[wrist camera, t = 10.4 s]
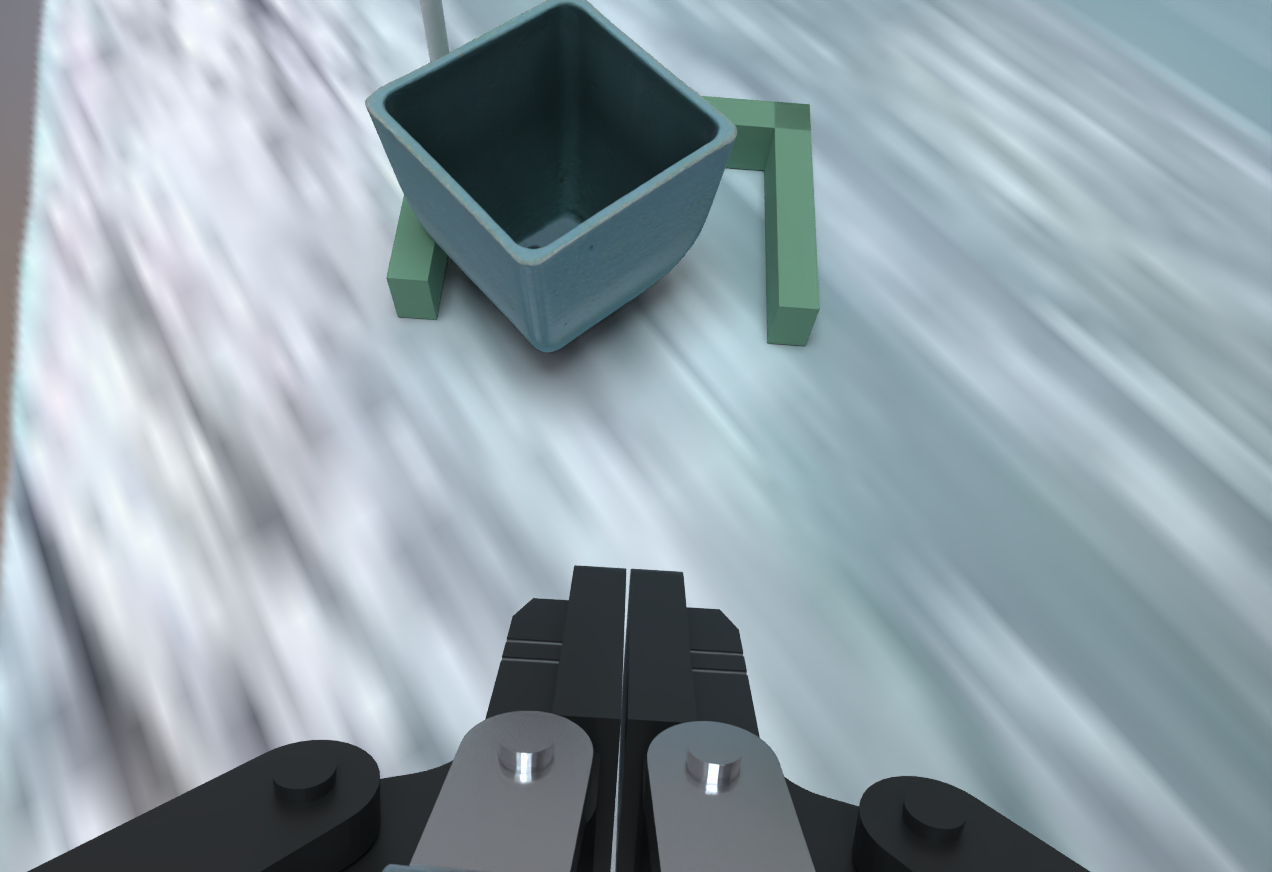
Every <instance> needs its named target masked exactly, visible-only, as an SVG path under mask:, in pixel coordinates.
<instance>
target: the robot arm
mask: <svg viewBox="0 0 1272 872" xmlns="http://www.w3.org/2000/svg"><path fill="white" fill-rule="evenodd" d="M625 593H626V569H624V568H608V567H592V566H574V571H573V577H572V584H571V590H570V597H569V600H554V599H537V598H533V599H532V600H531V601H530V602H528V603H527V604H526V605H525V606H524V607H523V608H522V609H520V610H519V611H518V612H517V613H516V614H515V615H514V616H513V617H512V621H511V625H510V629H509V633H508V636H507V642H506V644H505V648H504V651H503V655H502V661H501V663H500V666H499V670H498V674H497V678H496V681H495V685H494V689H493V693H492V696H491V700H490V704H489V708H488V711H487V715H486V719H485V720H484V721H482V722H480V723H479V724H477V725H476V726H475V727H473V728H472V729H471V730H470V731H469V732H468V733H467V734H466V735H465V736H464V738H463V740H462V742H461V744H460V746H459V748H458V751H457V753H456V756H455V758H454V760H453V761H451V762H449V763H447V764H445V765H442V766H440V767H437V768H434V769H431V770H428V771H423V772H419V773H414V774H408V775H402V776H396V777H389V778H383V779H380V771H379V768H378V765H377V763H376V762H375V760H374V759H373V757H372V756H370V755H369V754H368V753H367V752H366V751H364V750H362V749H361V748H359V747H357V746H354V745H351V744H349V743H345V742H340V741H333V740H310V741H301V742H297V743H292V744H288V745H285V746H282V747H278V748H276V749H273V750H271V751H269V752H267V753H264V754H262V755H260V756H258V757H256V758H254V759H252V760H250V761H248V762H246V763H244V764H242V765H240V766H238V767H236V768H234V769H232V770H230V771H228V772H226V773H224V774H222V775H220V776H218V777H216V778H214V779H212V780H210V781H208V782H206V783H204V784H202V785H200V786H198V787H196V788H194V789H192V790H190V791H188V792H186V793H184V794H182V795H180V796H178V797H176V798H174V799H172V800H170V801H168V802H166V803H164V804H162V805H160V806H158V807H156V808H154V809H152V810H150V811H148V812H146V813H144V814H142V815H140V816H138V817H136V818H134V819H132V820H130V821H128V822H126V823H124V824H122V825H120V826H118V827H116V828H114V829H112V830H110V831H108V832H106V833H104V834H102V835H100V836H98V837H96V838H94V839H92V840H90V841H88V842H86V843H84V844H82V845H80V846H78V847H76V848H74V849H72V850H70V851H68V852H66V853H64V854H62V855H60V856H58V857H56V858H54V859H52V860H50V861H48V862H46V863H44V864H42V865H40V866H38V867H36V868H34V869H32V870H30V871H28V872H610V869H611V854H612V840H613V826H614V811H615V797H616V783H617V768H618V754H619V740H620V758H619V786H618V814H617V842H616V870H615V872H1090V871H1088V870H1087V869H1085V868H1084V867H1082V866H1081V865H1079V864H1077V863H1076V862H1074V861H1073V860H1071V859H1070V858H1068V857H1067V856H1065V855H1063V854H1062V853H1060V852H1059V851H1057V850H1056V849H1054V848H1053V847H1051V846H1049V845H1048V844H1046V843H1045V842H1043V841H1042V840H1040V839H1039V838H1037V837H1036V836H1034V835H1032V834H1031V833H1029V832H1028V831H1026V830H1025V829H1023V828H1022V827H1020V826H1018V825H1017V824H1015V823H1014V822H1012V821H1011V820H1009V819H1008V818H1006V817H1005V816H1003V815H1001V814H1000V813H998V812H997V811H995V810H994V809H992V808H991V807H989V806H987V805H986V804H984V803H983V802H981V801H980V800H978V799H977V798H975V797H974V796H972V795H970V794H968V793H967V792H965V791H963V790H961V789H959V788H957V787H954V786H952V785H950V784H947V783H944V782H941V781H938V780H933V779H929V778H924V777H916V776H899V777H891V778H887V779H883V780H881V781H879V782H876V783H874V784H873V785H872V786H870V787H869V788H868V789H867V790H866V791H865V792H864V794H863V796H862V798H861V800H860V805H859V806H855V805H852V804H848V803H845V802H841V801H838V800H834V799H831V798H827V797H824V796H821V795H818V794H815V793H812V792H810V791H808V790H806V789H803V788H801V787H800V786H798V785H796V784H794V783H793V782H791V781H789V780H788V779H787V778H785V777H784V775H783V772H782V769H781V766H780V763H779V761H778V758H777V756H776V754H775V753H774V752H773V750H772V749H771V747H769V746H768V745H767V744H766V743H765V742H764V741H763V740H762V739H760V737H759V732H758V727H757V721H756V716H755V711H754V706H753V701H752V696H751V690H750V685H749V680H748V675H746V673H747V670H746V665H745V659H744V657H743V649H742V644H741V639H740V634H739V629H738V628H737V627H736V626H735V625H734V624H733V623H732V622H731V621H730V620H729V619H728V618H727V617H726V616H725V615H724V614H723V612H722V611H721V610H720V609H704V608H688V607H686V598H685V587H684V576H683V572H675V571H659V570H643V569H631V573H630V585H629V599H628V614H627V628H626V643H625V657H624V671H623V648H624V620H625ZM622 676H623V687H622ZM621 704H622V706H621ZM620 725H621V731H620Z"/></svg>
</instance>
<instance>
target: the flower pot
mask: <svg viewBox="0 0 1272 872" xmlns="http://www.w3.org/2000/svg"><path fill="white" fill-rule="evenodd" d="M365 105H366V107H367V110H368V112H369V114H370V116H371V119H372V121H373V124H374V126H375V128H376V131H377V133H378V135H379V138H380V140H381V142H382V145H383V147H384V149H385V152H386V154H387V157H388V159H389V161H390V163H391V166H392V168H393V170H394V173H395V175H396V177H397V180H398V182H399V184H400V186H401V189H402V191H403V193H404V195H405V197H406V199H407V201H408V203H409V205H410V207H411V209H412V211H413V212H414V214H415V215H416V217H417V218H418V220H419V221H420V223H421V224H422V226H423V227H424V228H425V230H426V231H427V232H428V234H429V235H430V236H431V237H432V239H433V240H434V241H435V242H436V243H437V245H438V246H439V247H440V248H441V249H442V250H443V251H444V252H445V253H446V254H447V255H448V256H449V257H450V258H451V259H452V261H453V262H454V263H455V264H456V265H457V266H458V267H459V268H460V269H461V270H462V271H463V272H464V273H465V274H466V275H467V276H468V277H469V278H470V279H471V280H472V281H473V282H474V283H475V284H476V285H477V286H478V288H479V289H480V290H481V291H482V292H483V293H484V294H485V295H486V296H487V297H488V298H489V299H490V300H491V301H492V302H493V303H494V304H495V305H496V307H497V308H498V309H499V310H500V311H501V312H502V313H503V314H504V315H505V316H506V317H507V318H508V319H509V320H510V321H511V322H512V323H513V324H514V325H515V327H516V328H517V329H518V330H519V331H520V332H521V333H522V334H523V335H524V336H525V338H526V339H527V340H528V341H529V342H530V343H531V344H532V345H533V346H534V347H535V348H537V349H538V350H540V351H542V352H554V351H557V350H559V349H561V348H562V347H564V346H565V345H567V344H568V343H570V342H571V341H572V340H574V339H575V338H577V337H578V336H580V335H581V334H582V333H584V332H585V331H587V330H588V329H590V328H591V327H593V326H594V325H595V324H597V323H598V322H600V321H601V320H603V319H604V318H606V317H607V316H609V315H610V314H612V313H613V312H615V311H616V310H617V309H619V308H620V307H622V306H623V305H625V304H627V303H628V302H630V301H631V300H633V299H634V298H636V297H637V296H639V295H640V294H641V293H643V292H644V291H645V290H647V289H648V288H649V287H651V286H652V285H653V284H654V283H656V282H657V281H658V280H659V279H661V278H662V277H663V276H664V275H666V274H667V273H668V272H669V271H670V270H671V269H672V268H673V267H674V266H675V265H676V264H677V263H678V262H679V261H680V260H681V259H682V257H683V256H684V255H685V254H686V253H687V251H688V250H689V249H690V248H691V246H692V245H693V243H694V242H695V240H696V239H697V237H698V235H699V234H700V232H701V230H702V228H703V225H704V223H705V221H706V218H707V216H708V213H709V211H710V208H711V205H712V203H713V200H714V197H715V194H716V192H717V189H718V186H719V183H720V181H721V178H722V175H723V172H724V169H725V167H726V164H727V161H728V158H729V155H730V153H731V149H732V146H733V144H734V141H735V138H736V136H737V128H736V126H735V125H734V124H733V123H732V122H731V121H730V120H729V119H728V118H727V117H726V116H725V115H724V114H723V113H721V112H720V111H718V110H717V109H716V108H715V107H714V106H712V105H711V104H710V103H709V102H708V101H707V100H705V99H704V98H703V97H702V96H701V95H699V94H698V93H697V92H696V91H694V90H693V89H692V88H690V87H688V86H687V85H686V84H685V83H684V82H683V81H681V80H680V79H679V78H677V77H676V76H675V75H674V74H673V73H672V72H670V71H669V70H668V69H667V68H665V67H664V66H663V65H662V64H661V63H659V62H658V61H657V60H656V59H654V58H653V57H652V56H651V55H650V54H649V53H647V52H646V51H645V50H644V49H642V48H641V47H640V46H639V45H638V44H637V43H635V42H634V41H633V40H632V39H631V38H629V37H628V36H627V35H626V34H624V33H623V32H622V31H621V30H620V29H618V28H617V27H616V26H615V25H614V24H612V23H611V22H610V21H609V20H608V19H607V18H606V17H604V16H603V15H602V14H601V13H600V12H599V11H598V10H597V9H596V8H594V7H593V6H592V4H590V3H589V2H588V1H586V0H547V1H545V2H543V3H541V4H539V5H538V6H536V7H534V8H532V9H530V10H528V11H526V12H525V13H522V14H521V15H519V16H517V17H515V18H513V19H511V20H510V21H508V22H506V23H504V24H503V25H500V26H499V27H497V28H495V29H493V30H491V31H490V32H488V33H485V34H483V35H482V36H480V37H478V38H476V39H473V40H472V41H470V42H468V43H466V44H465V45H463V46H462V47H460V48H458V49H456V50H454V51H452V52H450V53H449V54H447V55H445V56H443V57H441V58H439V59H437V60H435V61H432V62H430V63H428V64H427V65H425V66H422V67H421V68H419V69H417V70H415V71H413V72H411V73H409V74H407V75H405V76H403V77H401V78H399V79H396V80H394V81H392V82H390V83H388V84H386V85H385V86H383V87H380V88H379V89H378V90H377V91H375V92H374V93H373V94H372V95H371V96H369V97H368V98H367V99H366V101H365Z"/></svg>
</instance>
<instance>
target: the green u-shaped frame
mask: <svg viewBox="0 0 1272 872" xmlns="http://www.w3.org/2000/svg"><path fill="white" fill-rule="evenodd" d="M420 5H421V10H422V16H423V22H424V28H425V34H426V40H427V45H428V51H429V57H430V62H432V61H435V60H437V59H439V58H441V57H443V56H445V55H447V54H449V47H448V40H447V33H446V27H445V20H444V13H443V6H442V0H420ZM702 97H703V98H704V99H705V100H707V101H708V102H709V103H710V104H711V105H712V106H714V107H715V108H716V109H717V110H718V111H720V112H721V113H723V114H724V115H725V116H726V117H727V118H728V119H729V120H730V121H731V122H732V123H733V124H734V125H735V126H736V128H737V136H736V138H735V141H734V144H733V146H732V149H731V153H730V155H729V158H728V161H727V164H726V167H725V168H737V169H750V170H763V171H764V179H765V235H766V291H767V343H772V344H786V345H800V346H805V345H806V343H807V340H808V337H809V335H810V332H811V330H812V327H813V325H814V322H815V319H816V317H817V314H818V312H819V289H818V268H817V248H816V227H815V207H814V187H813V166H812V146H811V125H810V105H809V104H797V103H784V102H771V101H759V100H746V99H733V98H720V97H707V96H702ZM447 258H448V255H447V254H446V253H445V252H444V251H443V250H442V249H441V248H440V247H439V246H438V245H437V243H436V242H435V241H434V240H433V239H432V237H431V236H430V235H429V234H428V232H427V231H426V230H425V228H424V227H423V226H422V224H421V223H420V221H419V220H418V218H417V217H416V215H415V214H414V212H413V211H412V209H411V207H410V205H409V203H408V201H407V199H406V197H405V195H404V198H403V203H402V207H401V212H400V217H399V221H398V226H397V231H396V236H395V240H394V245H393V250H392V254H391V259H390V264H389V269H388V273H387V281H388V285H389V288H390V291H391V295H392V298H393V301H394V305H395V308H396V312H397V315H398V317H407V318H421V319H435V320H437V315H438V309H439V303H440V298H441V292H442V286H443V281H444V275H445V270H446V264H447Z"/></svg>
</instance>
